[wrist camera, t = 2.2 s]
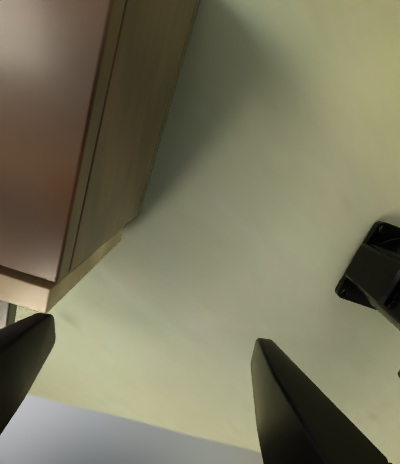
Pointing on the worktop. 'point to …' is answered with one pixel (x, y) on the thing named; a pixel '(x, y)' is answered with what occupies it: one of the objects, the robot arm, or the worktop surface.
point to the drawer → (43, 285)
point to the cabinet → (81, 121)
